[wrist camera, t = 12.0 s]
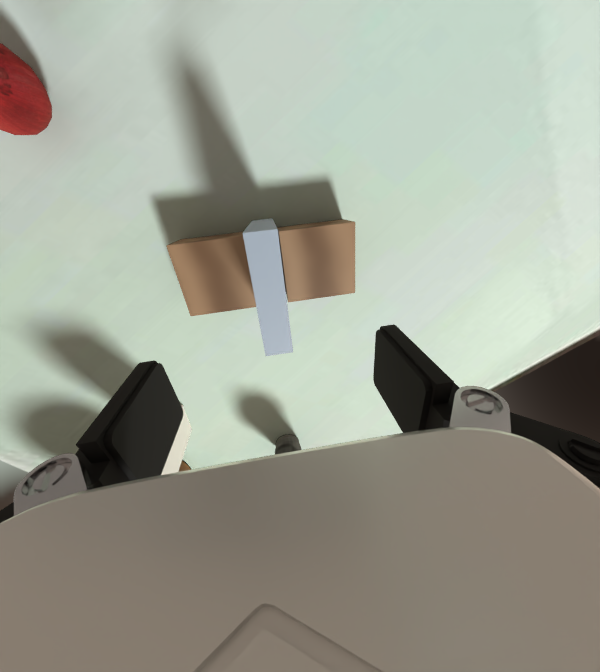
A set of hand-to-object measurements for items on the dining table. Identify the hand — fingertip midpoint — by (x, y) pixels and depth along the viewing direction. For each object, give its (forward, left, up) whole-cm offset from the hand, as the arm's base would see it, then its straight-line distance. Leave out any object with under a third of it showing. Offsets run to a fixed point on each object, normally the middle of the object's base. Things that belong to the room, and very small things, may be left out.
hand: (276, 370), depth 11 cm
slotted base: (0, 0, -25) cm, 25 cm away
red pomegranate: (+19, -17, -25) cm, 35 cm away
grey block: (0, 0, -24) cm, 24 cm away
